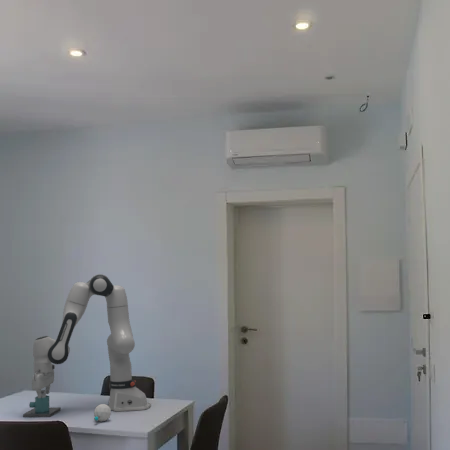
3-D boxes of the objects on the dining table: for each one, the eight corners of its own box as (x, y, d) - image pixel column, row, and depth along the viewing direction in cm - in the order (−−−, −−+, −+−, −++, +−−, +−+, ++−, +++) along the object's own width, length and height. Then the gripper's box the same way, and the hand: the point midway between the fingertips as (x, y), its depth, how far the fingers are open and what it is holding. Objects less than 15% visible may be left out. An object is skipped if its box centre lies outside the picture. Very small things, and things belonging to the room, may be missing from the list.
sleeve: (50, 409, 304) (50, 395, 304) (45, 412, 297) (45, 397, 298) (33, 409, 305) (33, 395, 305) (27, 412, 298) (27, 398, 299)
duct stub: (60, 410, 307) (60, 387, 308) (50, 416, 293) (50, 393, 294) (34, 410, 308) (34, 388, 309) (23, 417, 294) (23, 393, 295)
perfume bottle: (116, 411, 285) (107, 420, 273) (104, 421, 286) (94, 430, 275) (107, 398, 286) (97, 407, 274) (94, 408, 287) (84, 417, 275)
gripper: (40, 371, 292) (41, 400, 291) (56, 364, 313) (57, 391, 311) (28, 372, 293) (29, 400, 292) (44, 365, 313) (45, 391, 312)
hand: (43, 395), depth 302 cm, fingers open, 8 cm apart
